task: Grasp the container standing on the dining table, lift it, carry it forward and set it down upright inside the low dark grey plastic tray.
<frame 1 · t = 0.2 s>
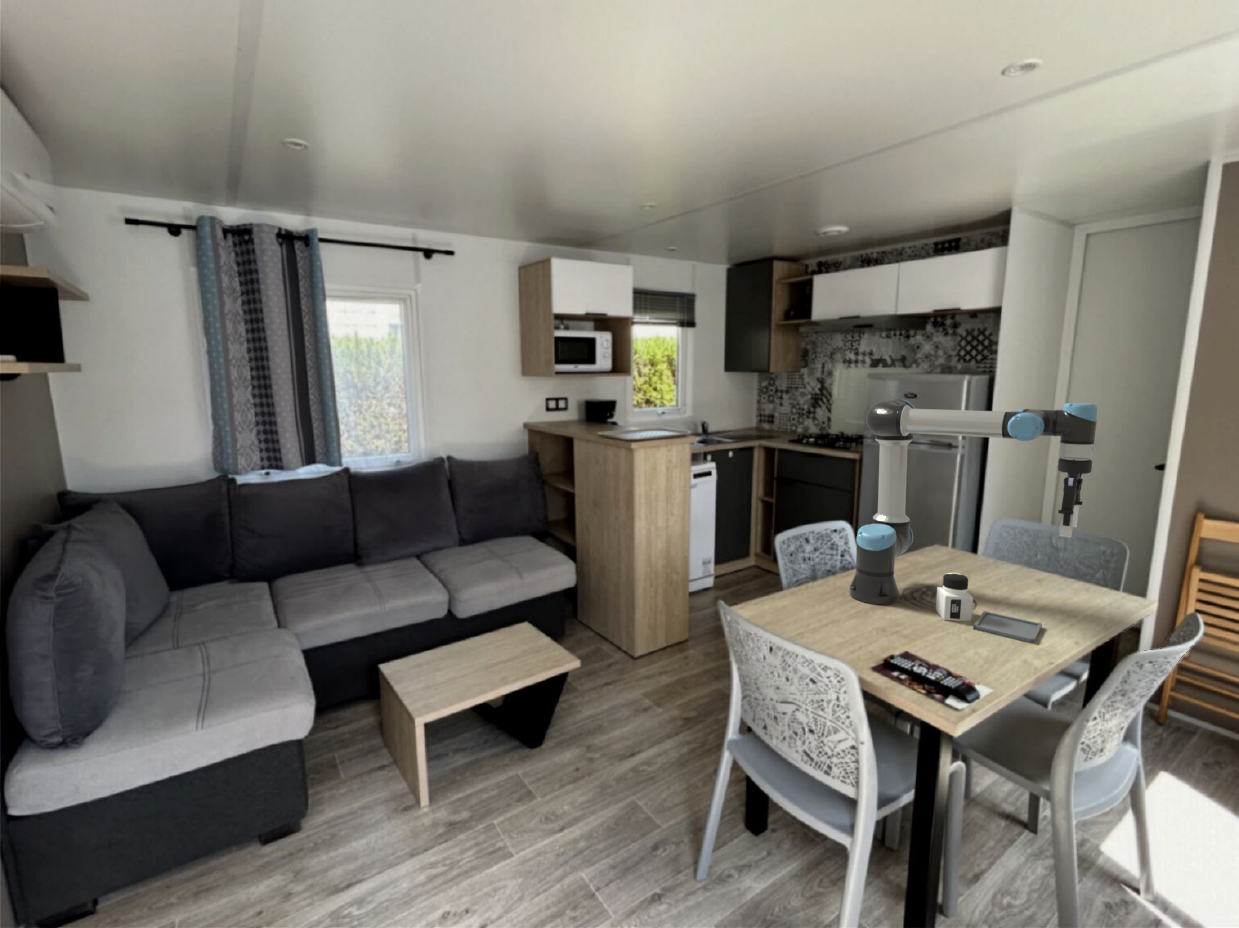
hand: (1068, 531, 168), 28 cm above the table, fingers open, 13 cm apart
container: (953, 616, 178), on the table
tray: (1007, 628, 169), on the table
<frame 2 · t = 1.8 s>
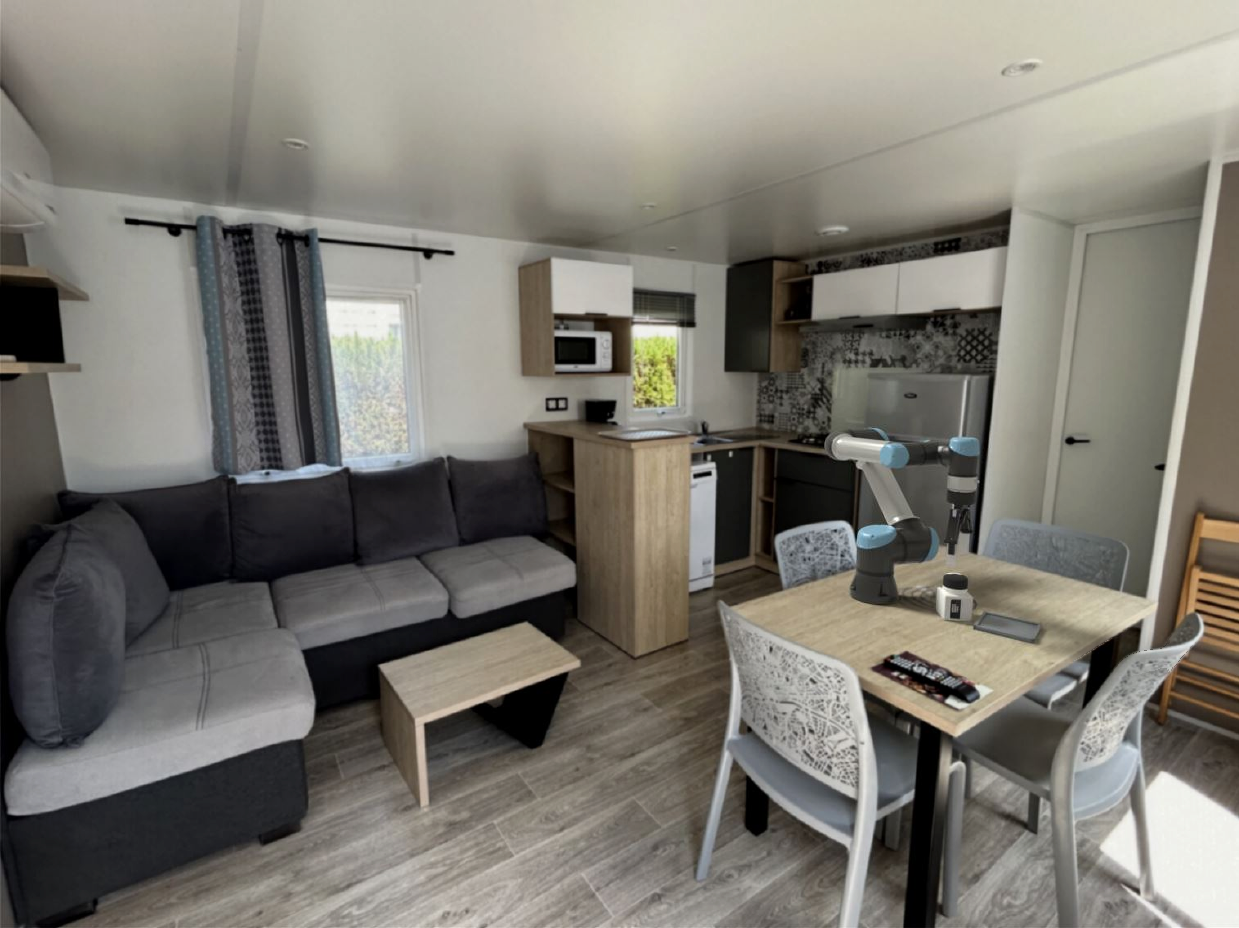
hand: (957, 559, 175), 18 cm above the table, fingers open, 13 cm apart
nothing on the table moved.
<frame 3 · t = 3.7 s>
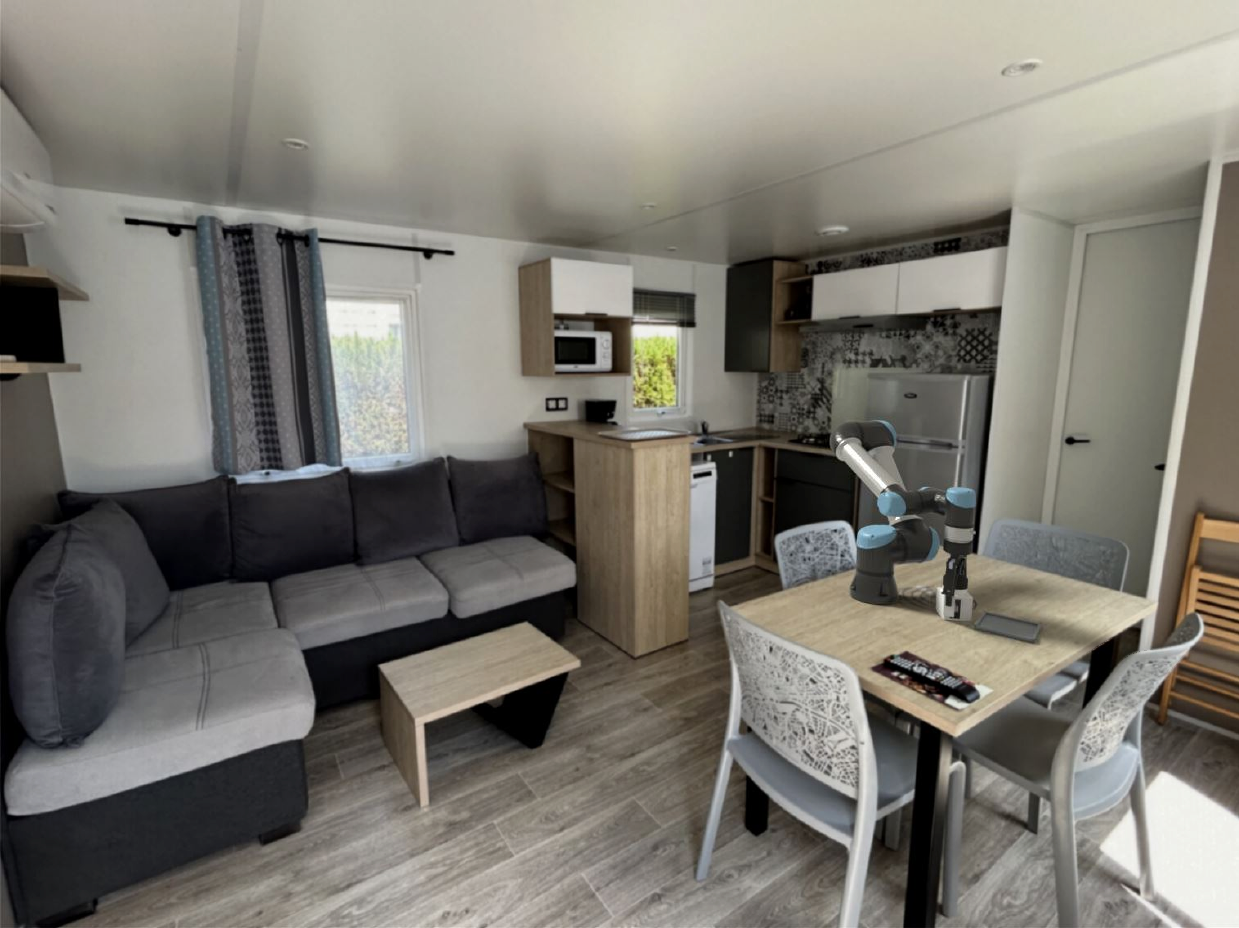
hand: (953, 610, 178), 2 cm above the table, fingers closed on container, 10 cm apart
container: (953, 616, 178), on the table, touching gripper
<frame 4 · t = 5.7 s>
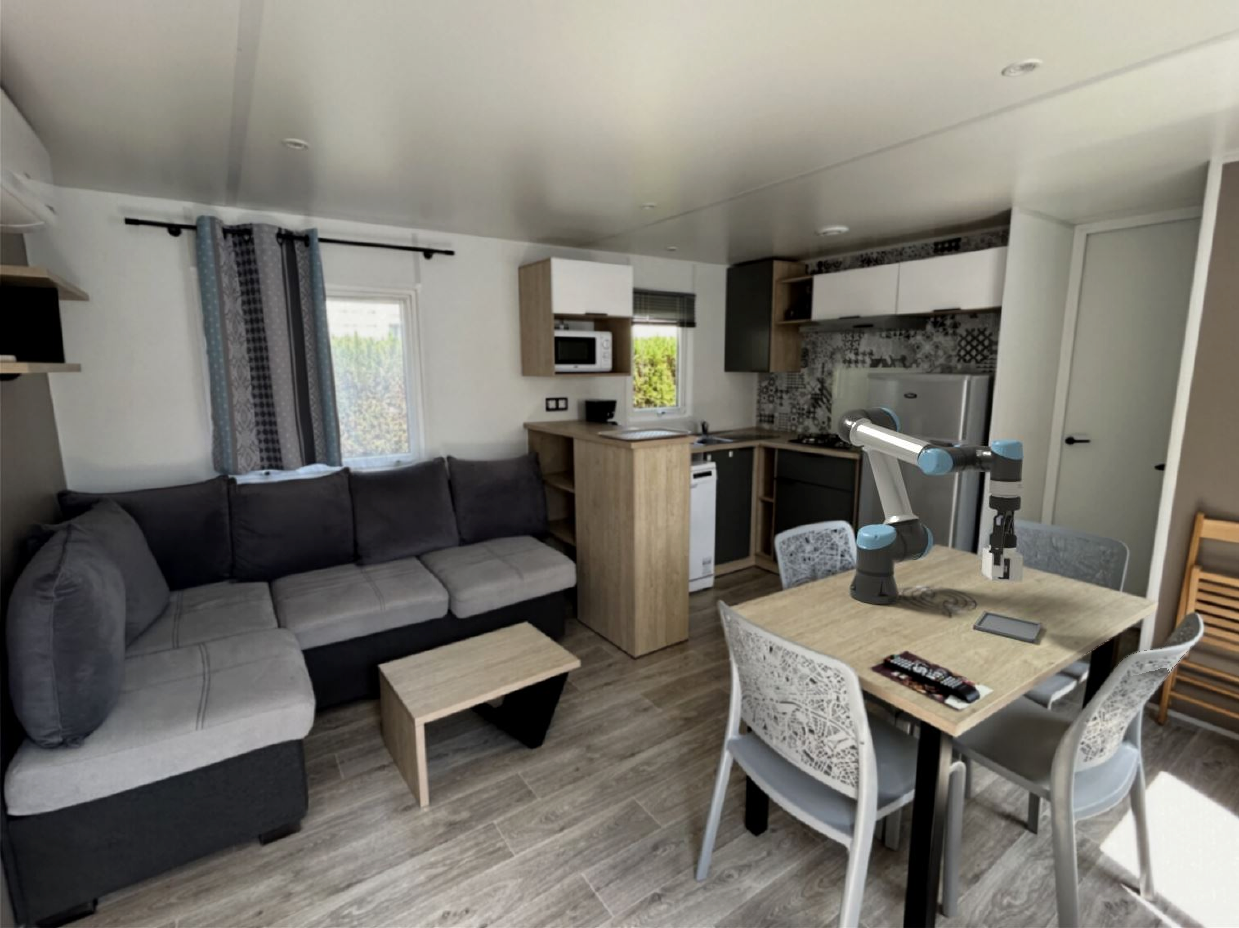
hand: (1001, 571, 167), 17 cm above the table, fingers closed on container, 10 cm apart
container: (1001, 578, 168), point 15 cm above the table, touching gripper
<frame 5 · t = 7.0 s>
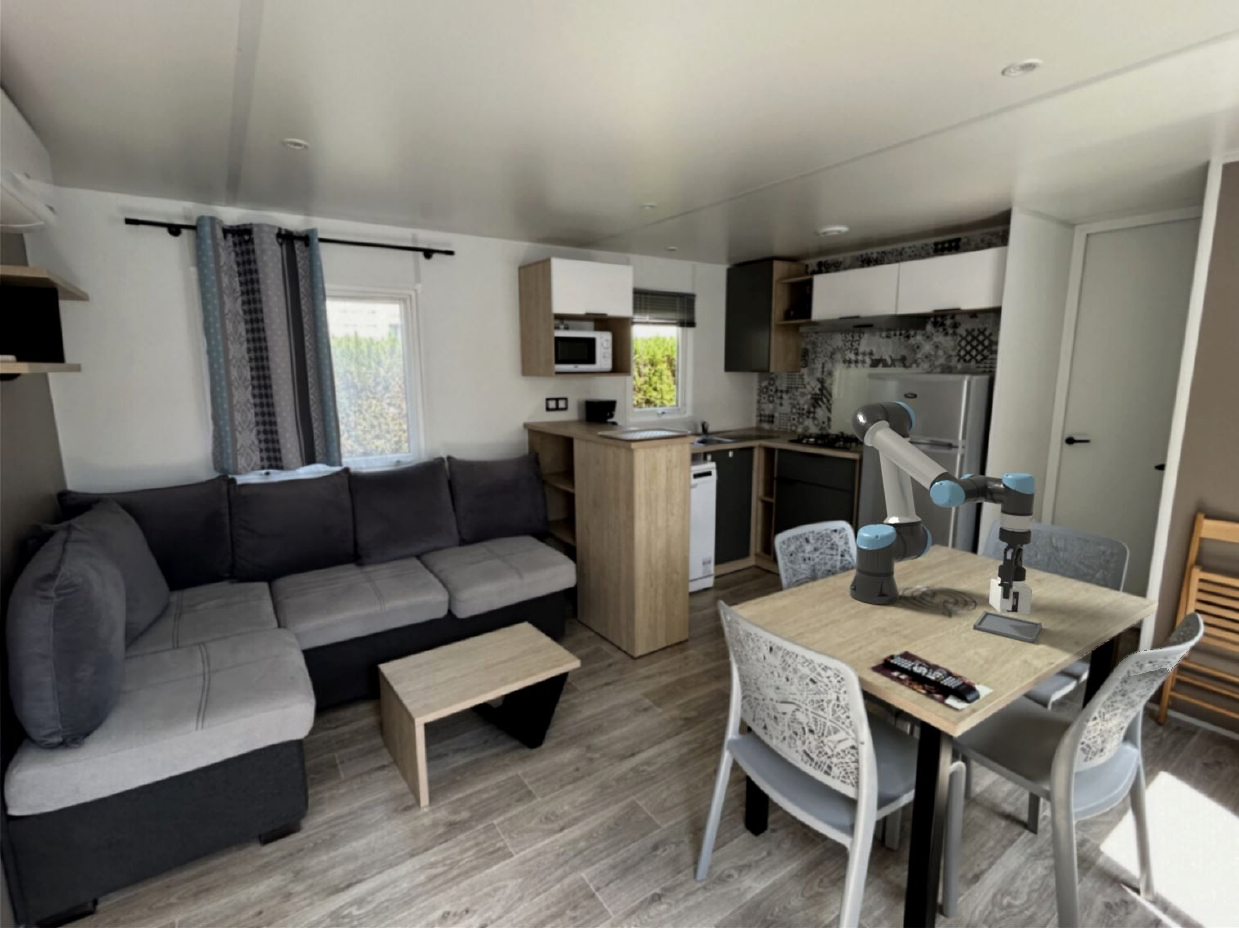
hand: (1009, 603, 168), 8 cm above the table, fingers closed on container, 10 cm apart
container: (1008, 609, 168), point 6 cm above the table, touching gripper
when the fingers open (5 cm above the table, at t = 8.1 s): container drops 2 cm, resting on tray.
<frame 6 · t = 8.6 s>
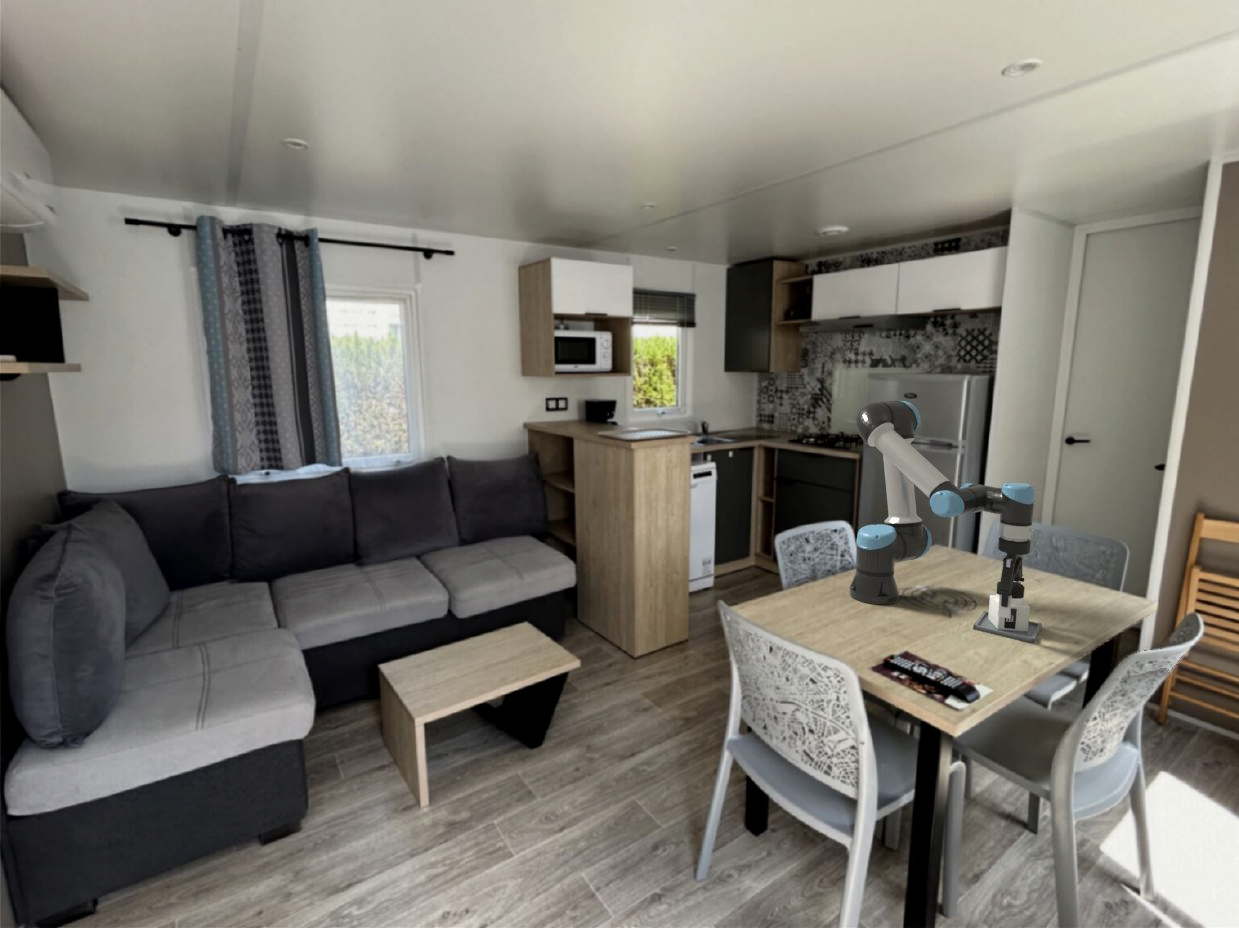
hand: (1008, 609, 168), 6 cm above the table, fingers open, 13 cm apart
container: (1007, 626, 169), resting on tray
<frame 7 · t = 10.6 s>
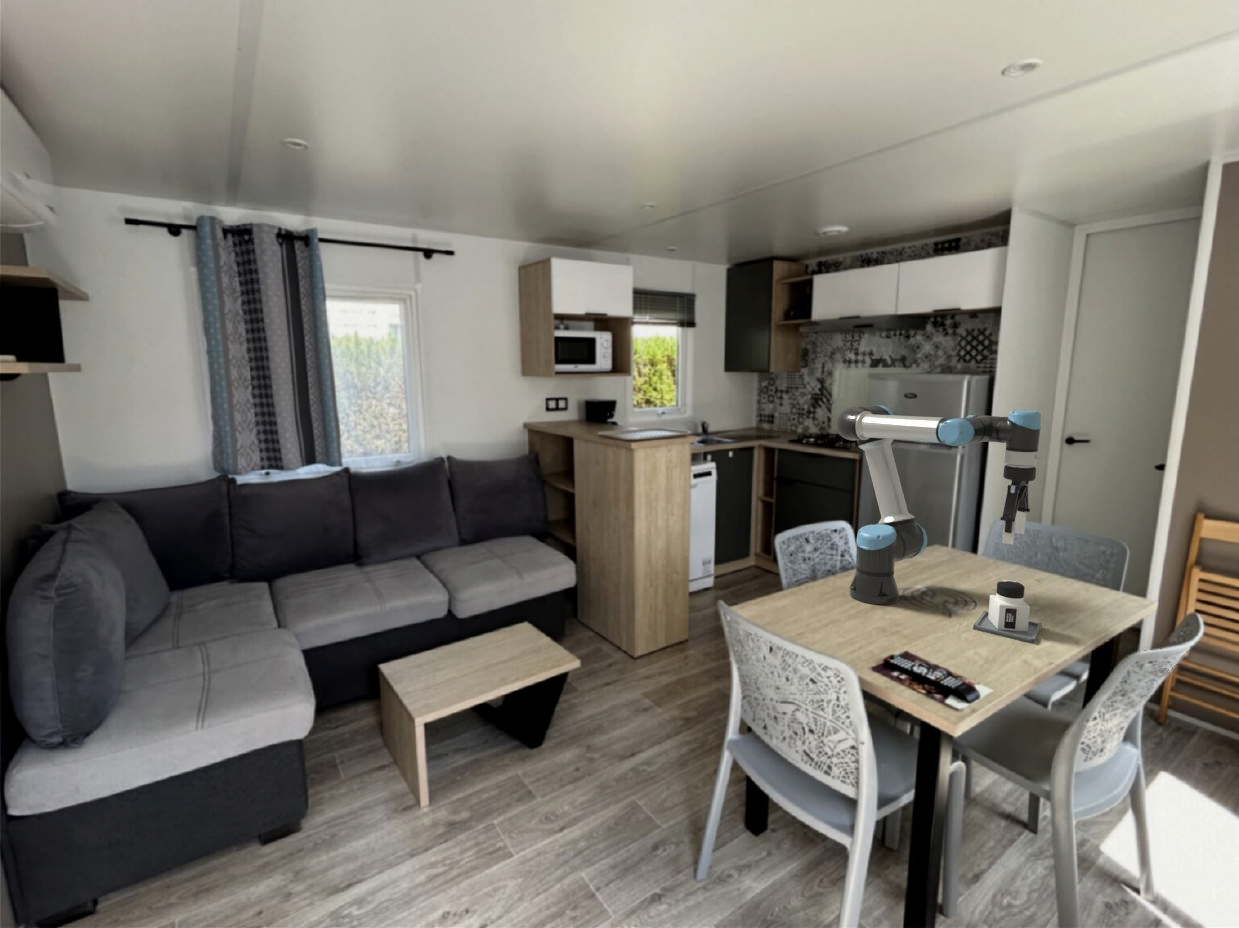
hand: (1013, 538, 168), 26 cm above the table, fingers open, 13 cm apart
nothing on the table moved.
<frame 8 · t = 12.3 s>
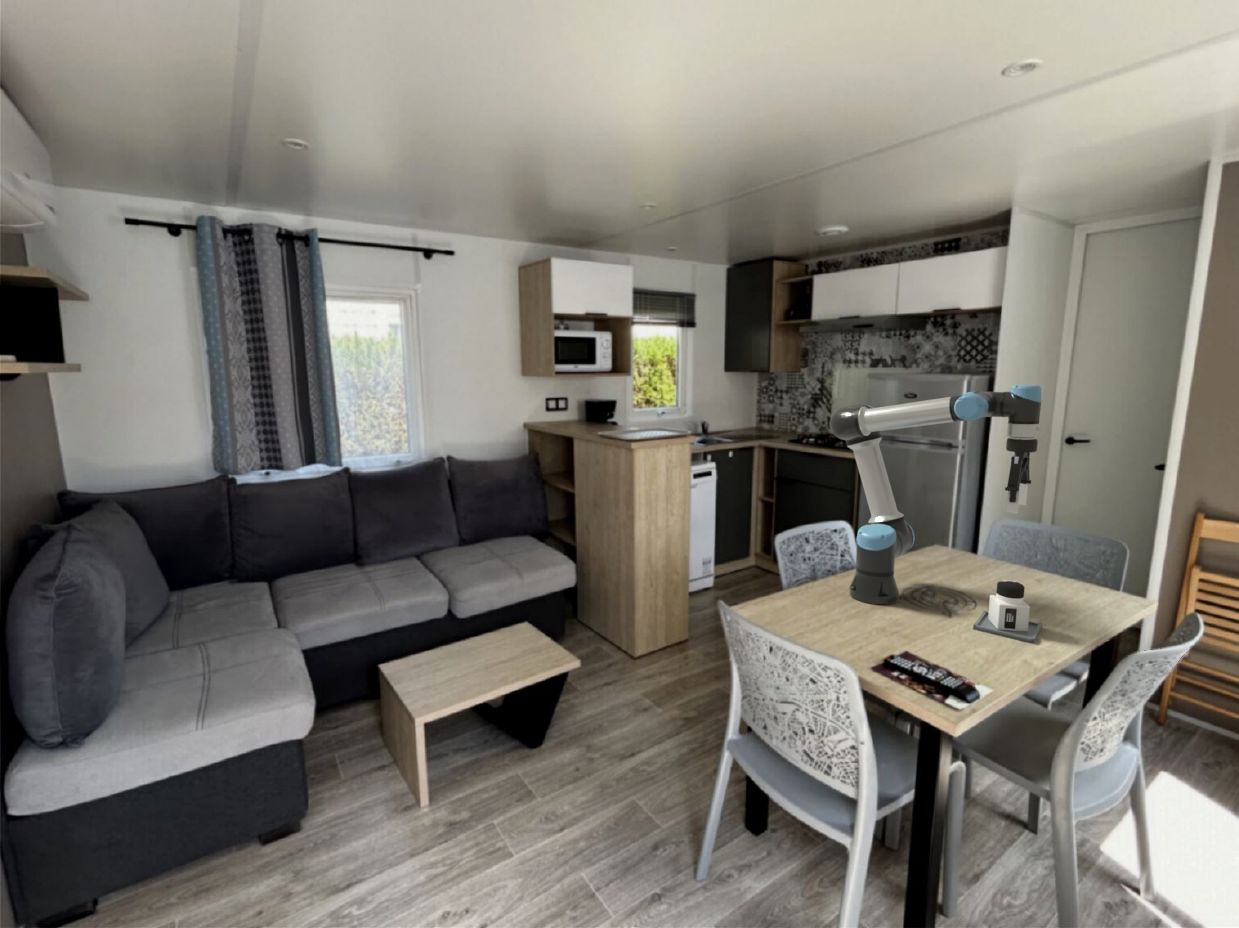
hand: (1016, 508, 175), 33 cm above the table, fingers open, 13 cm apart
nothing on the table moved.
at the end: container inside the target area on the tray (0.7 cm from its centre), point 0.4 cm above the tray's base; container tilted 0°; the gripper is holding nothing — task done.
